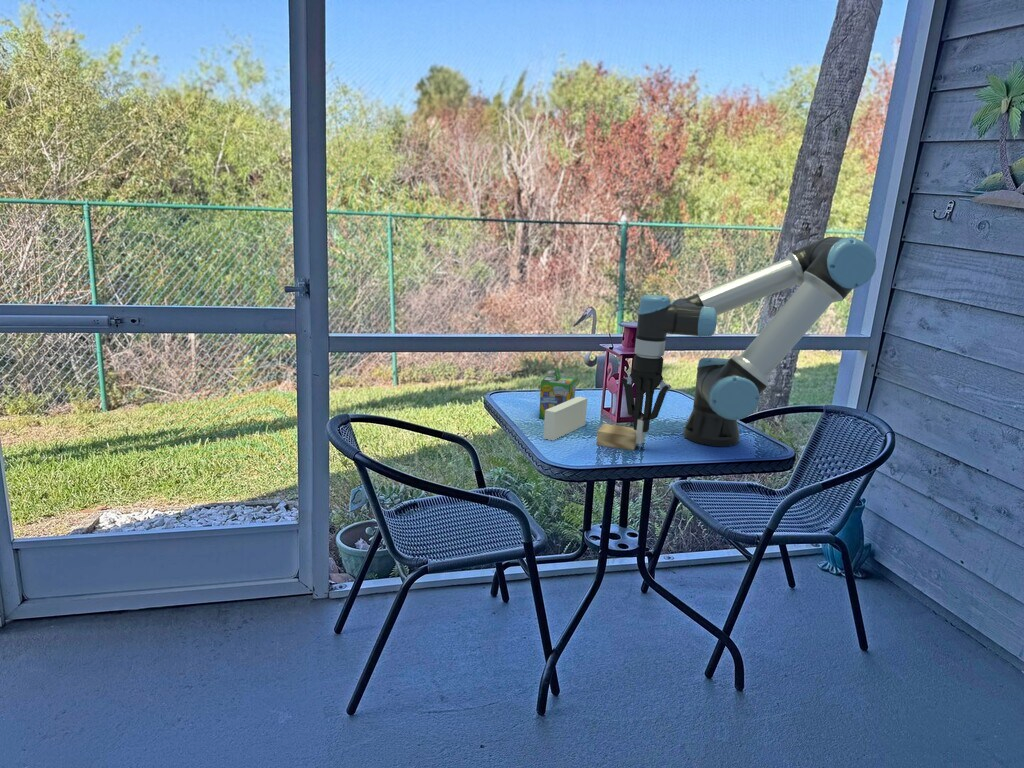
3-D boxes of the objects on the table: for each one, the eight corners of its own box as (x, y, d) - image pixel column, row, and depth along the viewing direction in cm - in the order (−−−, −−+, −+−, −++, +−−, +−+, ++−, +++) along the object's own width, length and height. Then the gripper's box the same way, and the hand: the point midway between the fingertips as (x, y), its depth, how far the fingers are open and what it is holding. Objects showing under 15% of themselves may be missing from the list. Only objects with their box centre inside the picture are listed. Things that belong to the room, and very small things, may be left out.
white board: (585, 424, 214) (587, 398, 212) (552, 441, 197) (555, 412, 195) (576, 422, 216) (578, 396, 214) (543, 438, 199) (545, 410, 197)
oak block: (638, 442, 201) (639, 428, 200) (633, 451, 193) (635, 436, 193) (601, 437, 204) (603, 423, 203) (596, 445, 196) (597, 431, 195)
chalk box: (568, 422, 215) (572, 373, 212) (538, 418, 218) (541, 370, 214) (574, 414, 224) (578, 367, 221) (545, 411, 226) (548, 364, 223)
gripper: (678, 357, 190) (667, 444, 195) (630, 349, 196) (622, 434, 201) (668, 361, 183) (658, 451, 189) (619, 353, 190) (611, 440, 195)
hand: (639, 442), depth 195 cm, fingers closed
